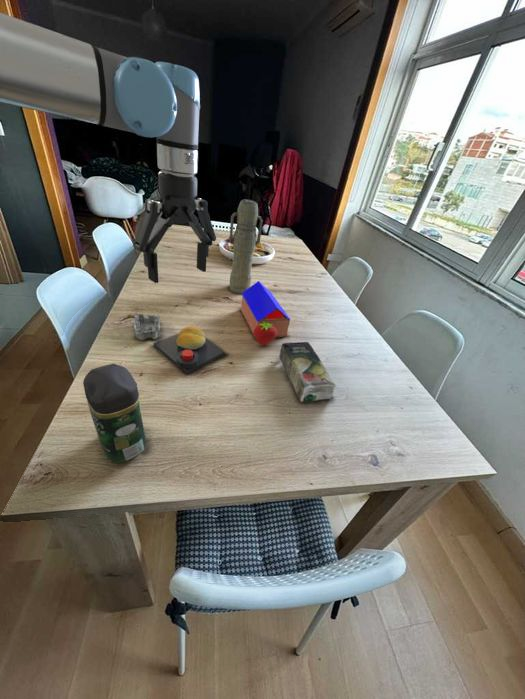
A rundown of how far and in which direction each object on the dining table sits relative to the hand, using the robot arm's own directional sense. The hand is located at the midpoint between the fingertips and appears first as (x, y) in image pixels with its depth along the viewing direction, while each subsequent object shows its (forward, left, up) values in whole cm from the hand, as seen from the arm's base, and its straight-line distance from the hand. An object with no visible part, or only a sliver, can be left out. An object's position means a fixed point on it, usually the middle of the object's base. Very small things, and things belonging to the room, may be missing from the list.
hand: (178, 275), depth 70 cm
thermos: (-23, +47, -25) cm, 58 cm away
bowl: (-51, +80, -25) cm, 98 cm away
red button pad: (-1, +4, -25) cm, 25 cm away
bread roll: (-3, +6, -24) cm, 25 cm away
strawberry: (+11, +24, -25) cm, 37 cm away
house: (+1, +35, -25) cm, 43 cm away
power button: (+4, -1, -23) cm, 23 cm away
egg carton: (-17, 0, -25) cm, 30 cm away
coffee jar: (+16, -26, -25) cm, 40 cm away
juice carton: (+29, +22, -25) cm, 44 cm away
